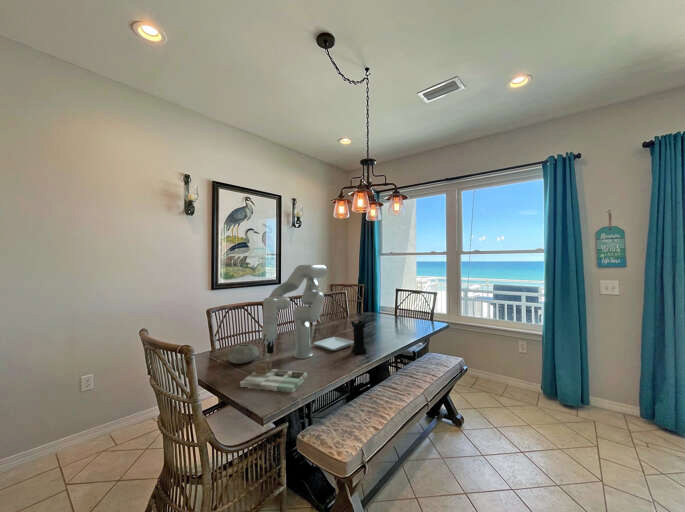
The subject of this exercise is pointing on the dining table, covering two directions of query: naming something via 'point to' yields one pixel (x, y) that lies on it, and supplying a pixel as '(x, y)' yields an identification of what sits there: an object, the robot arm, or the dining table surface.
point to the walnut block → (263, 367)
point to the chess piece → (358, 338)
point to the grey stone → (243, 353)
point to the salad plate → (334, 343)
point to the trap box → (275, 380)
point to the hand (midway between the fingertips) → (270, 353)
